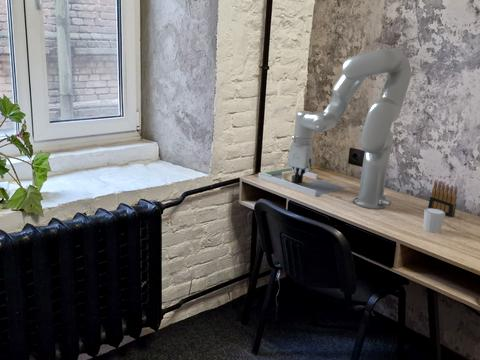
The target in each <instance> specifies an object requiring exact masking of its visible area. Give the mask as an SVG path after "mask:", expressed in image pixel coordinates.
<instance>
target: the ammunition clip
mask: <svg viewBox="0 0 480 360" xmlns="http://www.w3.org/2000/svg"><path fill="white" fill-rule="evenodd" d="M445 184H446V183H445V182H443V183H442V182H441V181H439V182H438V180H435V181H434V183H433V186H432V190H431V193H430V194H431V195H430V197H429V201H428V206H427V208H435V209H439V210H442V211H444V212H445V216H447V217H449V218H454V217H455V214H456V208H457V207H456V206H457V203H456V202H457V197H458V196H457V195H458V186H455V187H454V186H453V184H452V185H449V183H447V184H446V185H445Z"/></svg>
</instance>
